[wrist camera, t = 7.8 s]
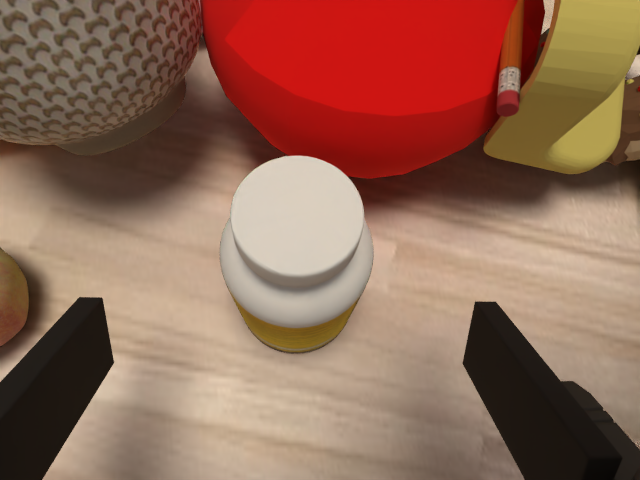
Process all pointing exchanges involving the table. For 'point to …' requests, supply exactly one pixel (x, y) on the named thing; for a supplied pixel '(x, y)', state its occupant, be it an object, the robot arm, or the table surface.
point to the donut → (636, 119)
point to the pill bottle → (296, 252)
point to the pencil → (511, 64)
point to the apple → (12, 298)
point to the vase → (366, 74)
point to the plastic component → (573, 89)
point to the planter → (93, 69)
